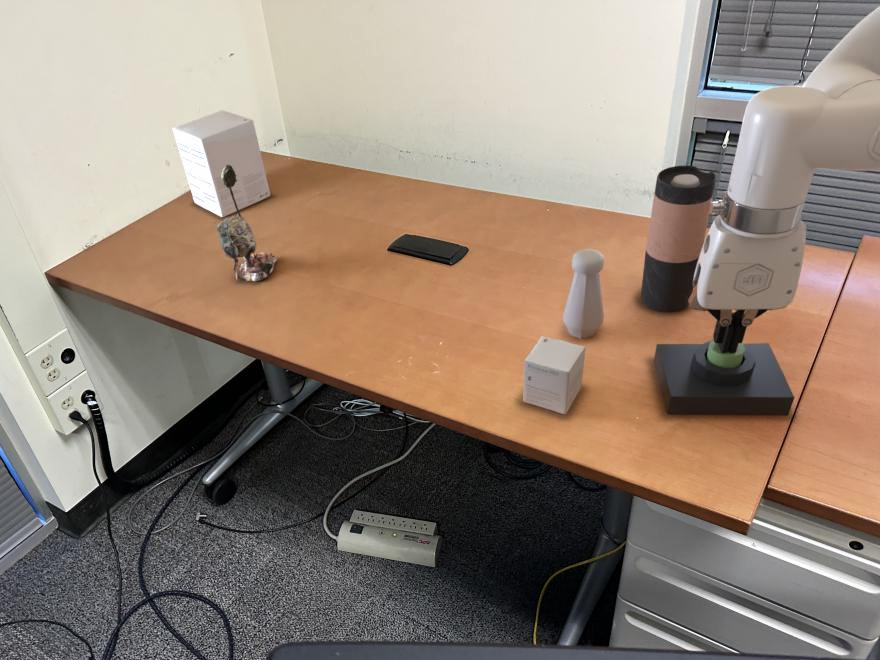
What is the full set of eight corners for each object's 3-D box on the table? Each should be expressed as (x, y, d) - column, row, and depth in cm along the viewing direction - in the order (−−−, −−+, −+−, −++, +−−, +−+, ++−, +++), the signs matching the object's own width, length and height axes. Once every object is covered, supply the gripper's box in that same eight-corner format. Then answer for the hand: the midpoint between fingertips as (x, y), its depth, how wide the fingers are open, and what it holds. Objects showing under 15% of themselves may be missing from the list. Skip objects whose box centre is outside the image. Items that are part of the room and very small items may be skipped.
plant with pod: (218, 282, 128) (186, 181, 116) (258, 254, 135) (233, 155, 122) (249, 292, 124) (220, 187, 111) (289, 262, 131) (266, 161, 118)
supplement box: (241, 183, 164) (222, 108, 153) (271, 196, 156) (254, 118, 145) (193, 203, 158) (170, 127, 147) (222, 218, 150) (200, 139, 139)
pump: (736, 349, 88) (740, 336, 87) (745, 369, 85) (748, 356, 84) (703, 350, 89) (706, 337, 88) (710, 369, 86) (713, 356, 85)
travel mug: (640, 312, 104) (658, 188, 92) (637, 286, 110) (654, 165, 97) (694, 314, 102) (721, 187, 90) (688, 286, 108) (713, 164, 95)
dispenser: (763, 360, 93) (772, 330, 89) (788, 415, 84) (799, 384, 81) (653, 361, 95) (658, 331, 92) (667, 414, 87) (673, 384, 84)
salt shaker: (607, 324, 103) (616, 247, 95) (596, 345, 100) (604, 267, 91) (568, 316, 106) (574, 241, 98) (556, 337, 102) (561, 260, 94)
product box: (521, 402, 92) (522, 359, 88) (539, 376, 96) (541, 334, 91) (566, 416, 89) (569, 372, 85) (582, 388, 93) (586, 345, 88)
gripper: (694, 229, 73) (667, 364, 84) (851, 224, 70) (801, 365, 81) (681, 198, 78) (657, 329, 90) (825, 192, 75) (782, 328, 87)
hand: (725, 346), depth 86 cm, fingers closed
